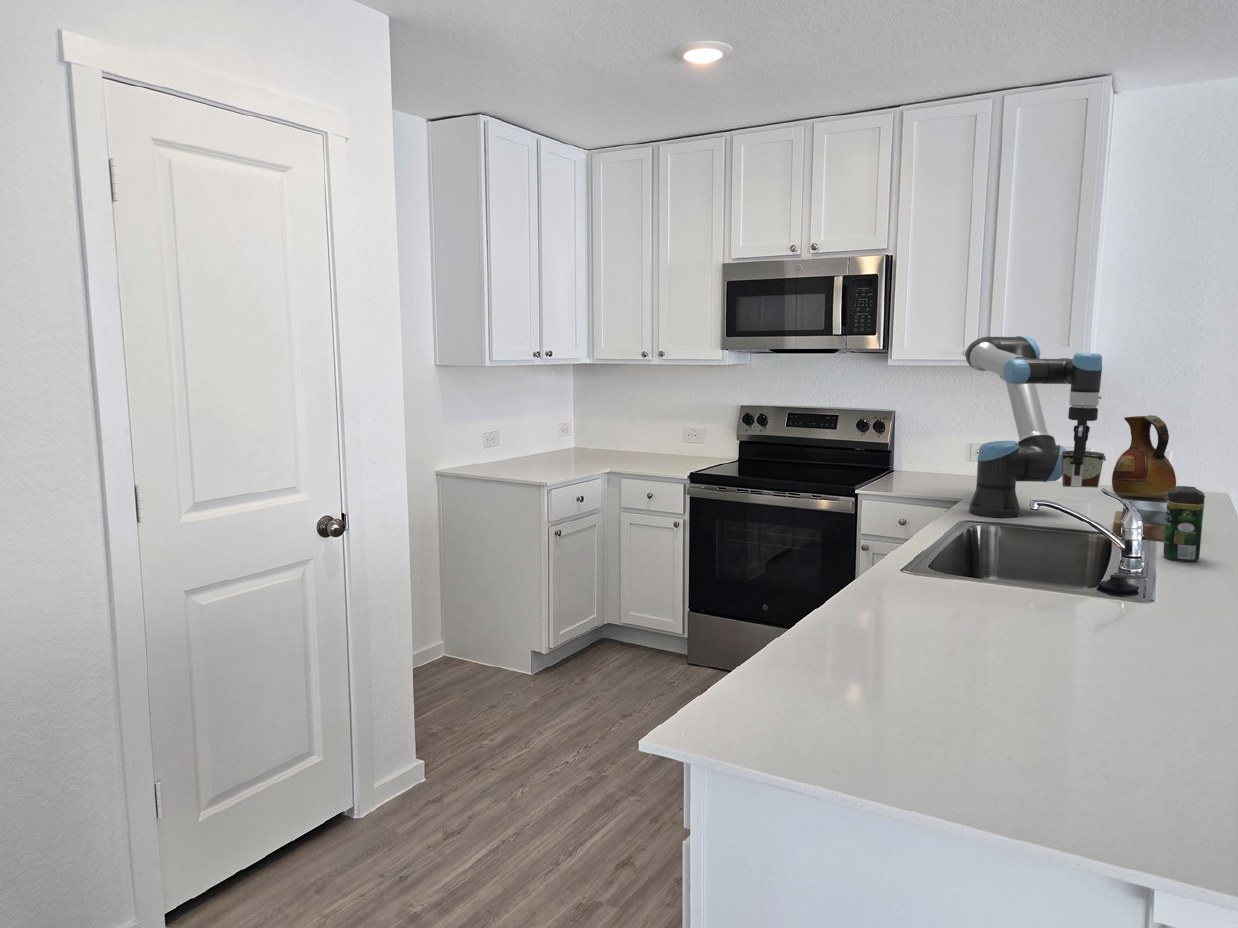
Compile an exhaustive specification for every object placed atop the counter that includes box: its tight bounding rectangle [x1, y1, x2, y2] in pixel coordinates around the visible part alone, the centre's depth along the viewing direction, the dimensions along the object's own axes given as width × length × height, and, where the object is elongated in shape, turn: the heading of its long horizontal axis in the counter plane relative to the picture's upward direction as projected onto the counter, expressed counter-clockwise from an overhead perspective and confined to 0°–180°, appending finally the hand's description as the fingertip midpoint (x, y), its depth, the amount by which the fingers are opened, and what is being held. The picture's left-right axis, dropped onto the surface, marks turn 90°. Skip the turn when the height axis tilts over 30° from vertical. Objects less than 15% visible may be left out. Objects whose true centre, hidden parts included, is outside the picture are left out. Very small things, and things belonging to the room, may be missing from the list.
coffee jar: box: [1162, 485, 1206, 563], centre depth 220 cm, size 10×8×19 cm
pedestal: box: [1112, 499, 1167, 542], centre depth 250 cm, size 20×20×8 cm
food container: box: [1059, 450, 1107, 488], centre depth 254 cm, size 12×6×10 cm, turn 80°
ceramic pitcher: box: [1111, 414, 1177, 498], centre depth 306 cm, size 20×20×30 cm
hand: (1076, 484), depth 254 cm, fingers closed on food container, 6 cm apart
